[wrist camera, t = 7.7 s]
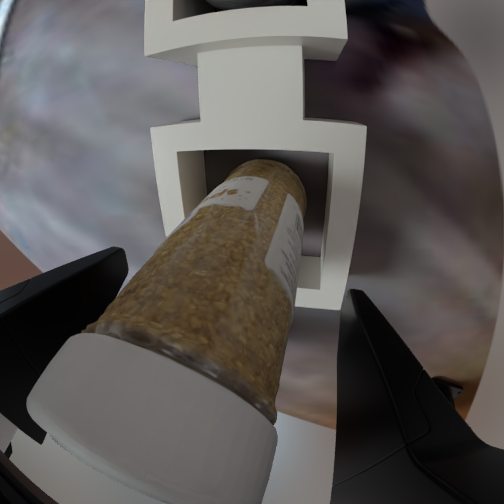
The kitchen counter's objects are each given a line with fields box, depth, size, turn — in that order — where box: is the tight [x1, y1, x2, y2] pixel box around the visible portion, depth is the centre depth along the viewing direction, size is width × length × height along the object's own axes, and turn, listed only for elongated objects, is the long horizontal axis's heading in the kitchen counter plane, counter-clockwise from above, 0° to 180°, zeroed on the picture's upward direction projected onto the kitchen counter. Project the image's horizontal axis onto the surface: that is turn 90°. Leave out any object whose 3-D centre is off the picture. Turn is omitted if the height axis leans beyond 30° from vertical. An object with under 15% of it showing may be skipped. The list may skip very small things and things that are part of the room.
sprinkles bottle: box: [26, 159, 307, 504], centre depth 9 cm, size 5×5×13 cm
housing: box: [144, 0, 367, 310], centre depth 10 cm, size 19×9×4 cm, turn 2°
